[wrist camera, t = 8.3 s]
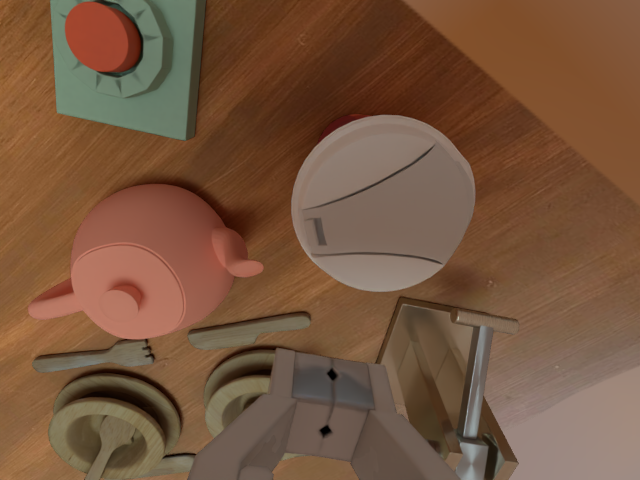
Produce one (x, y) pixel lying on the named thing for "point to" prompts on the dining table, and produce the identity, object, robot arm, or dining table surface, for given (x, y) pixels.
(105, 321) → the teapot
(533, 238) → the dining table surface
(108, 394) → the tableware set
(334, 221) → the coffee cup
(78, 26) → the button
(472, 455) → the lever
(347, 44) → the dining table surface
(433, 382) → the metal lever stand
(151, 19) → the button box
